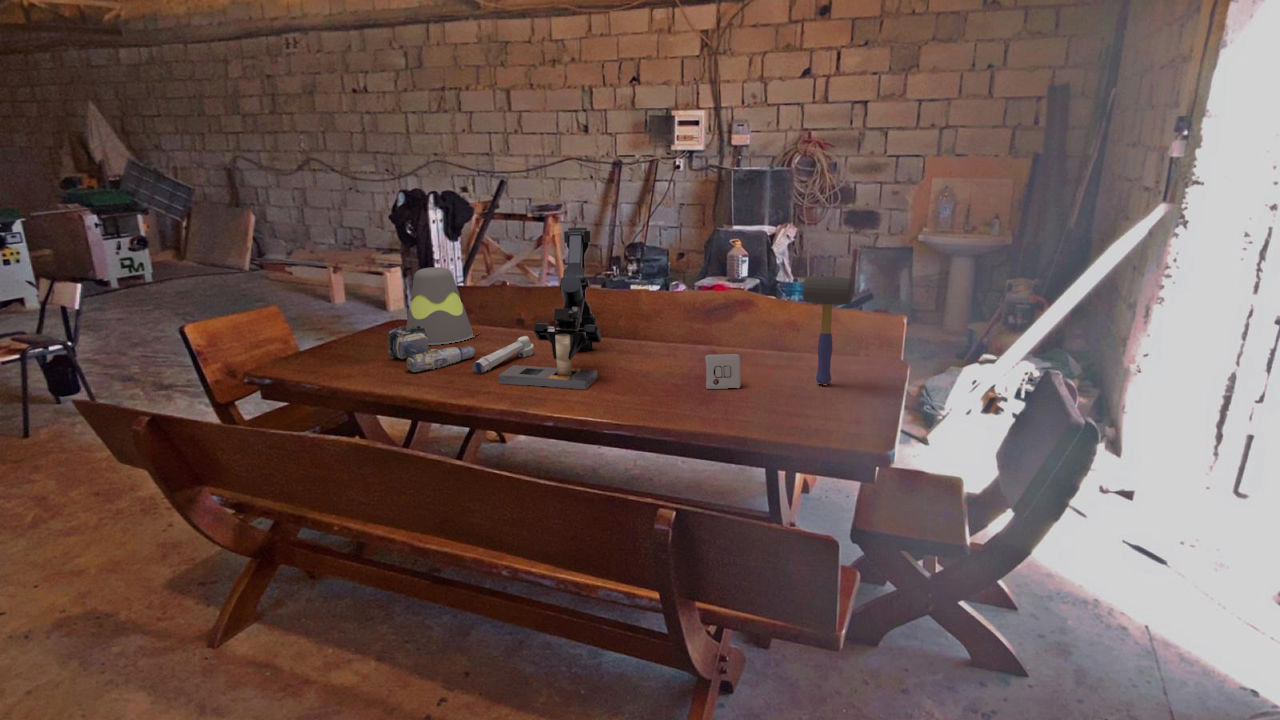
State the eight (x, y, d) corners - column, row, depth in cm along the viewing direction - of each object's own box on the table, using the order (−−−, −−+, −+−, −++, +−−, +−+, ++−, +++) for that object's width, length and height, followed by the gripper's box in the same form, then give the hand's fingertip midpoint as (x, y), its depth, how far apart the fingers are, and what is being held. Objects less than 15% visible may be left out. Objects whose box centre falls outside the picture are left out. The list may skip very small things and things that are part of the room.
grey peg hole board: (499, 383, 212) (498, 374, 211) (514, 373, 221) (513, 364, 220) (585, 389, 205) (585, 379, 204) (597, 378, 214) (596, 369, 213)
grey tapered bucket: (396, 331, 274) (388, 266, 268) (473, 323, 283) (468, 260, 277) (400, 349, 249) (392, 278, 243) (484, 340, 258) (479, 271, 252)
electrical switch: (706, 390, 203) (706, 356, 201) (704, 385, 208) (704, 353, 206) (740, 389, 203) (741, 355, 201) (738, 385, 208) (738, 352, 206)
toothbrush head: (469, 360, 222) (522, 330, 241) (473, 380, 224) (525, 350, 244) (483, 362, 219) (535, 332, 238) (487, 383, 222) (538, 351, 241)
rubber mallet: (848, 383, 205) (855, 275, 197) (844, 391, 199) (850, 279, 190) (803, 378, 210) (807, 272, 202) (797, 386, 204) (802, 277, 195)
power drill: (377, 363, 235) (373, 329, 232) (438, 348, 251) (435, 317, 248) (416, 376, 221) (413, 340, 218) (479, 359, 237) (476, 326, 234)
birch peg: (568, 376, 214) (566, 332, 210) (574, 380, 211) (572, 335, 207) (555, 379, 212) (553, 334, 208) (561, 382, 209) (558, 337, 205)
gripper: (533, 295, 210) (521, 343, 203) (597, 296, 206) (587, 345, 199) (544, 316, 220) (533, 362, 213) (605, 318, 216) (596, 365, 209)
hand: (562, 358), depth 208 cm, fingers closed on birch peg, 4 cm apart
